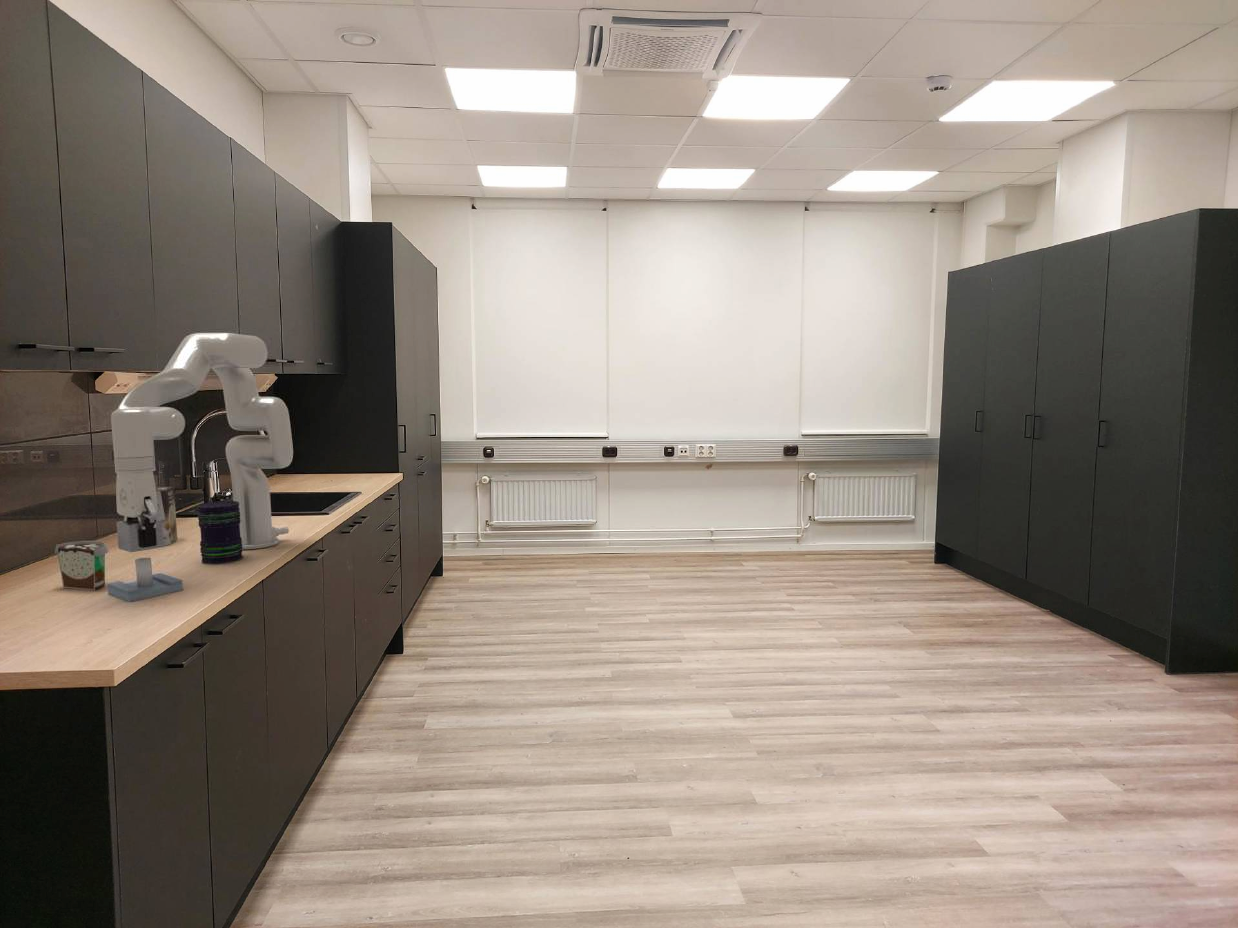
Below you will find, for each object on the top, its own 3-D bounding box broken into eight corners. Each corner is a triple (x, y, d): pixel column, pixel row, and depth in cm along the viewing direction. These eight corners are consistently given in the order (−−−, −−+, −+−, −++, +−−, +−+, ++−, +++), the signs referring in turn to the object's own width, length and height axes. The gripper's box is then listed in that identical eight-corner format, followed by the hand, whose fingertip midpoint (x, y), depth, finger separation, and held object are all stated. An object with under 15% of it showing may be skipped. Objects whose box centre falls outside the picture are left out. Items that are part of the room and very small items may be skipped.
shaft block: (161, 582, 177) (158, 551, 176) (182, 589, 170) (180, 557, 170) (108, 593, 168) (105, 560, 167) (128, 601, 162) (125, 567, 161)
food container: (124, 583, 176) (120, 541, 175) (99, 590, 170) (96, 547, 169) (83, 580, 180) (79, 539, 178) (58, 587, 174) (54, 544, 173)
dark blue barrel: (211, 566, 192) (207, 508, 190) (194, 560, 198) (189, 504, 196) (250, 558, 200) (246, 503, 198) (232, 553, 206) (228, 499, 204)
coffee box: (170, 545, 217) (165, 490, 215) (144, 547, 215) (140, 491, 213) (178, 539, 226) (174, 486, 224) (153, 540, 224) (149, 487, 222)
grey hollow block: (151, 543, 172) (149, 517, 172) (163, 546, 169) (161, 520, 168) (118, 548, 167) (116, 522, 167) (131, 552, 163) (128, 525, 163)
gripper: (100, 464, 168) (106, 543, 170) (132, 469, 158) (139, 552, 160) (137, 461, 174) (143, 537, 176) (171, 465, 164) (177, 546, 166)
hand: (141, 543), depth 168 cm, fingers closed on grey hollow block, 6 cm apart
